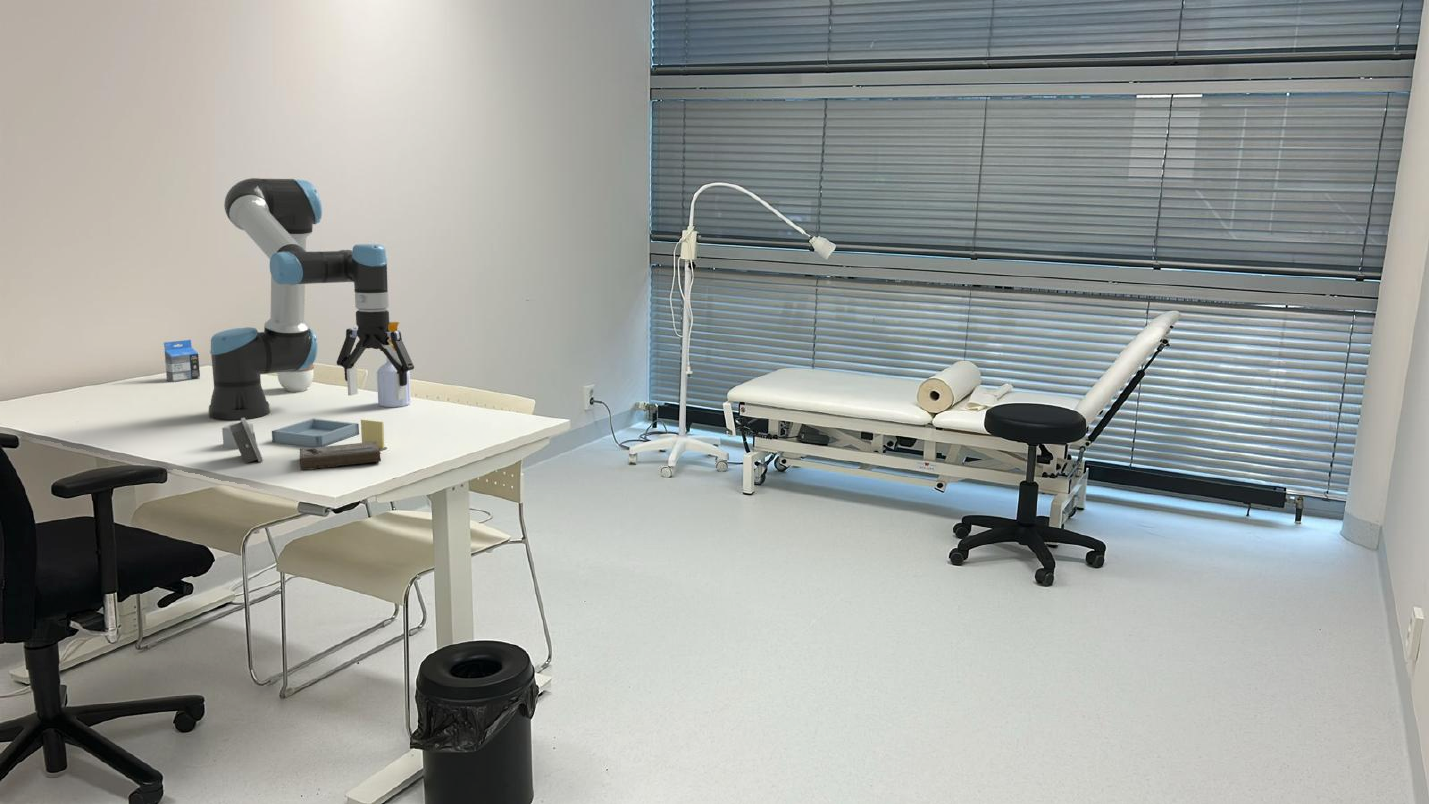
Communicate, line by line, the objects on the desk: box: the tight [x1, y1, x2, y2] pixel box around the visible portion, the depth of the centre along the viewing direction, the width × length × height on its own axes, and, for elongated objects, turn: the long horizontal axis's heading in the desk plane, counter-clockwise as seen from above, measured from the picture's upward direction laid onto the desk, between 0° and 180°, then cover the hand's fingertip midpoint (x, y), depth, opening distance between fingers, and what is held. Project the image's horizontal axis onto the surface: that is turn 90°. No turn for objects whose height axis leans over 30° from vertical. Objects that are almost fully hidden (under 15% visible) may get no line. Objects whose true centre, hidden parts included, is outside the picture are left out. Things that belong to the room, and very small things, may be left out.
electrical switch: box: [229, 418, 264, 464], centre depth 223 cm, size 9×5×9 cm, turn 30°
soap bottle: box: [376, 321, 412, 408], centre depth 282 cm, size 9×9×25 cm
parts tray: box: [271, 417, 360, 448], centre depth 244 cm, size 14×15×3 cm
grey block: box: [221, 422, 255, 449], centre depth 235 cm, size 5×5×5 cm
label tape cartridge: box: [163, 339, 201, 383], centre depth 309 cm, size 9×4×12 cm, turn 147°
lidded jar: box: [276, 363, 315, 393], centre depth 299 cm, size 11×11×9 cm
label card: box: [360, 419, 388, 452], centre depth 235 cm, size 6×2×7 cm, turn 73°
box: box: [299, 442, 382, 471], centre depth 224 cm, size 11×17×3 cm, turn 113°
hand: (376, 396), depth 235 cm, fingers open, 13 cm apart
